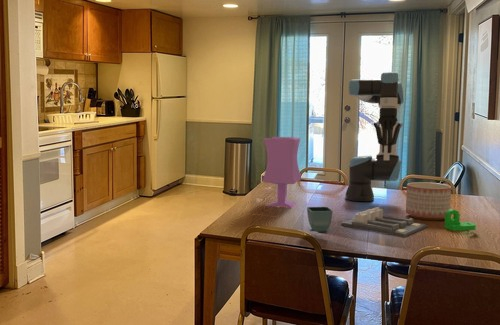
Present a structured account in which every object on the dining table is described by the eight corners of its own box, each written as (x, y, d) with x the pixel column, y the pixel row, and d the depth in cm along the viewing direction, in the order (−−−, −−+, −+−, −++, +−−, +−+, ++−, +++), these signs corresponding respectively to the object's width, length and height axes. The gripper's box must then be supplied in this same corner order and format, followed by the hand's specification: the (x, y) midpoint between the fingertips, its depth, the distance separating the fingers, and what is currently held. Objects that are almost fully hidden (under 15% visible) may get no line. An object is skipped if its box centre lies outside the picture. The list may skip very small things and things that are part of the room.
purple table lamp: (271, 202, 253) (272, 136, 249) (300, 204, 248) (301, 137, 244) (262, 207, 238) (263, 138, 235) (293, 210, 233) (294, 139, 230)
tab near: (354, 223, 201) (354, 212, 200) (358, 221, 204) (359, 210, 203) (362, 224, 198) (363, 213, 198) (367, 223, 201) (367, 212, 201)
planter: (429, 223, 208) (430, 189, 207) (396, 214, 225) (398, 183, 224) (458, 218, 217) (460, 186, 216) (425, 211, 234) (427, 181, 233)
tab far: (370, 218, 211) (370, 207, 211) (374, 216, 214) (374, 206, 214) (378, 219, 208) (378, 208, 208) (382, 218, 211) (383, 207, 211)
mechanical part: (453, 231, 195) (454, 212, 194) (444, 228, 200) (445, 209, 200) (478, 229, 197) (479, 211, 197) (468, 226, 203) (469, 208, 202)
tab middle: (362, 220, 206) (362, 209, 205) (366, 219, 209) (367, 208, 208) (370, 222, 203) (371, 211, 203) (375, 220, 206) (375, 209, 206)
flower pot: (306, 227, 198) (306, 206, 197) (327, 227, 198) (327, 206, 198) (310, 233, 189) (311, 211, 188) (332, 233, 190) (333, 210, 189)
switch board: (341, 225, 203) (341, 217, 202) (366, 217, 219) (366, 210, 219) (404, 237, 184) (404, 229, 184) (426, 227, 200) (426, 219, 200)
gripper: (371, 107, 214) (369, 159, 216) (398, 107, 205) (396, 161, 207) (378, 107, 219) (376, 158, 221) (405, 107, 211) (403, 160, 213)
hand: (386, 160), depth 214 cm, fingers closed
